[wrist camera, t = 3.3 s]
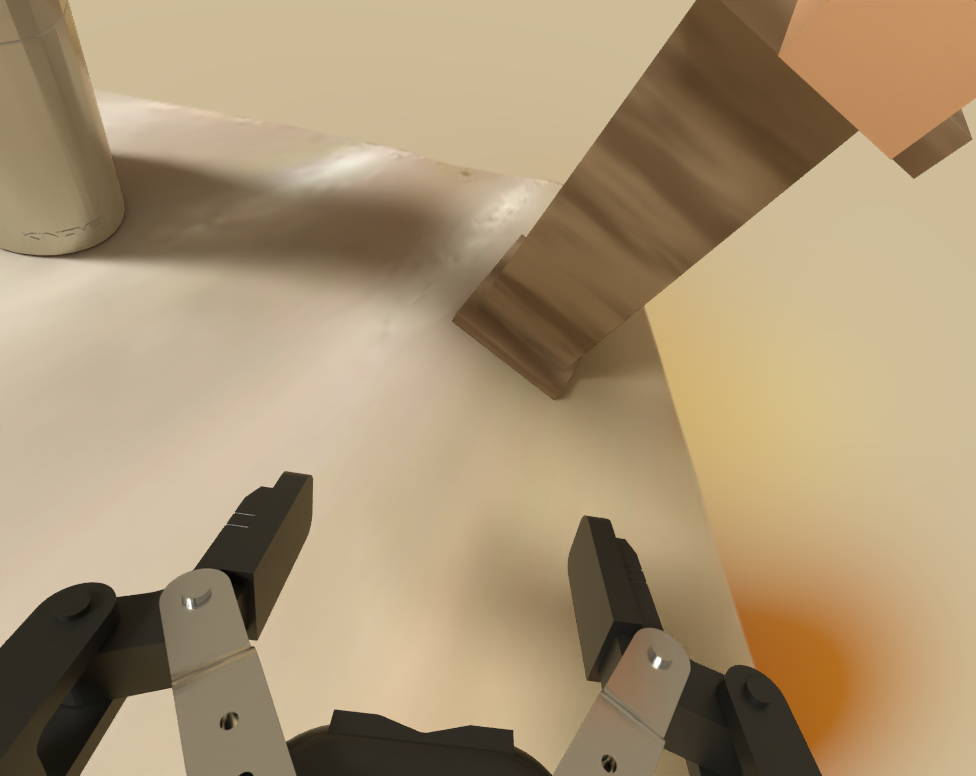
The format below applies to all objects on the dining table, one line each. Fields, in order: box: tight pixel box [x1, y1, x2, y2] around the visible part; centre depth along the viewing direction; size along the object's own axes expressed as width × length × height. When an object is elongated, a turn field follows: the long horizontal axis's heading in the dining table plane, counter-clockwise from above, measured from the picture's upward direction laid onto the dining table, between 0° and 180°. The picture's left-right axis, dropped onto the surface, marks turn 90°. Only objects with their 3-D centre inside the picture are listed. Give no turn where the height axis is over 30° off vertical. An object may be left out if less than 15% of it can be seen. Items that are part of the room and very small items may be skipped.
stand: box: [452, 0, 972, 400], centre depth 35 cm, size 16×14×31 cm
